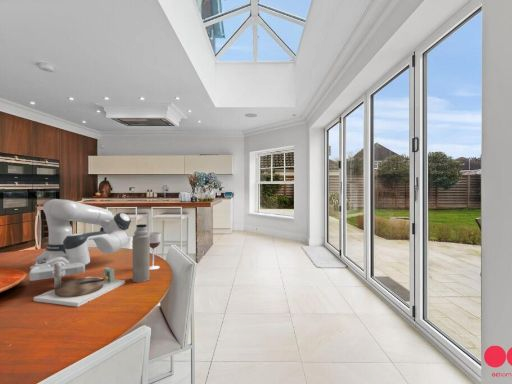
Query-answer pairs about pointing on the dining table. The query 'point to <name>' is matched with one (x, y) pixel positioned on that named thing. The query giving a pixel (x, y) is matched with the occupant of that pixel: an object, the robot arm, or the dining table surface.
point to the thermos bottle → (141, 254)
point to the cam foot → (75, 284)
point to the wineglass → (154, 245)
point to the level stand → (82, 299)
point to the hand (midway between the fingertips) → (58, 276)
